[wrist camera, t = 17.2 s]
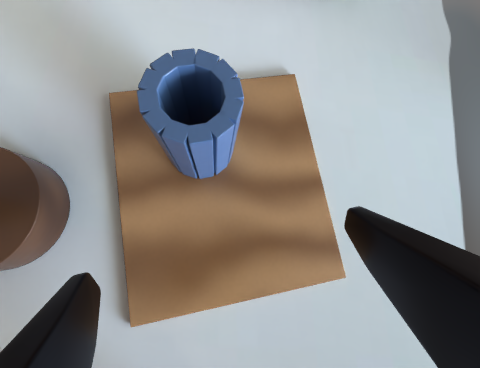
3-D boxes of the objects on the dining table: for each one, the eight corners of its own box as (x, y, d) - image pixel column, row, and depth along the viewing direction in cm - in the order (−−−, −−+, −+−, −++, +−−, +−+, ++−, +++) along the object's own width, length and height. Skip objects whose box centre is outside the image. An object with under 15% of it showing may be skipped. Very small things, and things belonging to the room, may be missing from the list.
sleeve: (220, 187, 21) (224, 157, 13) (158, 166, 21) (119, 122, 12) (240, 129, 22) (255, 68, 14) (181, 109, 22) (161, 35, 14)
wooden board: (343, 276, 21) (346, 277, 20) (132, 325, 18) (130, 327, 18) (293, 76, 24) (294, 73, 24) (110, 95, 22) (108, 92, 22)
